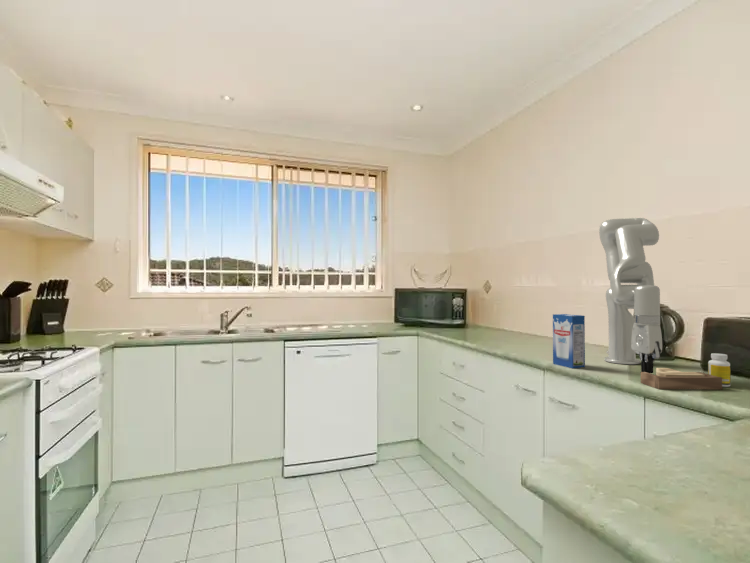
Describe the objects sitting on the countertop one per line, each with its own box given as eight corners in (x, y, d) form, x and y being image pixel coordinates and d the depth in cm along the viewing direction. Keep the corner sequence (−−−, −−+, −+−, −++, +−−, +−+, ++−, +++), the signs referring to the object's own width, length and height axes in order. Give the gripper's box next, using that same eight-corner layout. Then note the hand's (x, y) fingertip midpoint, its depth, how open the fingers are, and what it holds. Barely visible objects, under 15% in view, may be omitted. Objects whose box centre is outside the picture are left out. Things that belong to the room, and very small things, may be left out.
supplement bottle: (735, 387, 124) (734, 355, 124) (714, 386, 125) (714, 355, 125) (723, 383, 129) (723, 353, 129) (704, 382, 130) (704, 352, 130)
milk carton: (585, 367, 156) (584, 315, 156) (572, 368, 153) (572, 315, 154) (564, 362, 165) (564, 314, 165) (552, 363, 163) (552, 314, 163)
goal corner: (640, 382, 130) (640, 371, 130) (700, 382, 130) (700, 372, 130) (658, 389, 122) (658, 377, 122) (722, 389, 122) (722, 377, 122)
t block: (644, 379, 134) (644, 367, 134) (680, 379, 134) (680, 367, 134) (665, 387, 124) (665, 374, 124) (704, 387, 124) (704, 374, 124)
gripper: (623, 318, 149) (623, 368, 149) (651, 322, 134) (651, 377, 134) (643, 318, 149) (643, 368, 149) (673, 322, 134) (673, 377, 134)
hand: (647, 372), depth 141 cm, fingers closed
